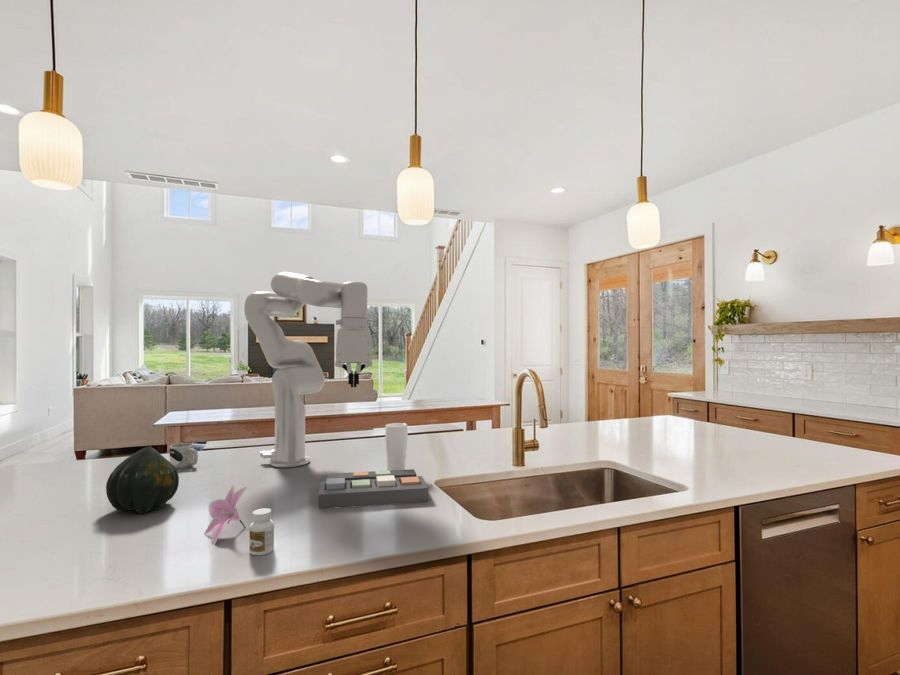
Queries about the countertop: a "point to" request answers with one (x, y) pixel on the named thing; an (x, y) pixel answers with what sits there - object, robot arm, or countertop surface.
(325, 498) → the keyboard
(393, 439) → the drinking glass
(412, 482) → the terracotta key
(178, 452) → the mug
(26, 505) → the countertop surface
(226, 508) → the lily
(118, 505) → the squash
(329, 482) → the slate key
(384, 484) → the cream key
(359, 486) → the sage key
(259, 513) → the pill bottle
